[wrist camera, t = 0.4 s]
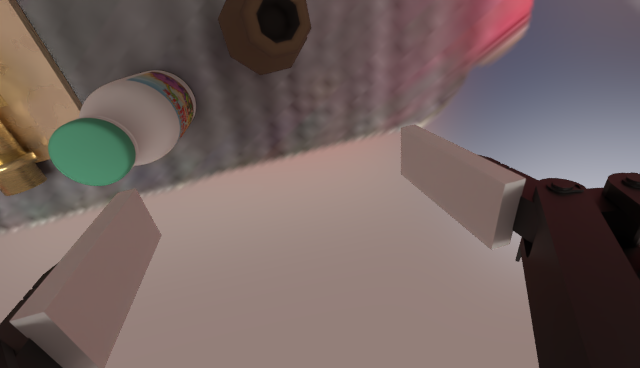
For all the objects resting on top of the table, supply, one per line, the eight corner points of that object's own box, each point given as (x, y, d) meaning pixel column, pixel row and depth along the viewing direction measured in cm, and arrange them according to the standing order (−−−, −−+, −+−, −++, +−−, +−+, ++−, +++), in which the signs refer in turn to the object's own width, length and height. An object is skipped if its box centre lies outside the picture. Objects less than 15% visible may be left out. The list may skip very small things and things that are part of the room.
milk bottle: (150, 138, 37) (68, 221, 20) (116, 79, 33) (-23, 118, 16) (207, 121, 38) (175, 187, 20) (179, 61, 34) (112, 81, 17)
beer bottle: (254, 79, 37) (267, 125, 16) (211, 23, 33) (155, -11, 12) (300, 42, 36) (376, 41, 15) (262, -19, 32) (294, -131, 12)
